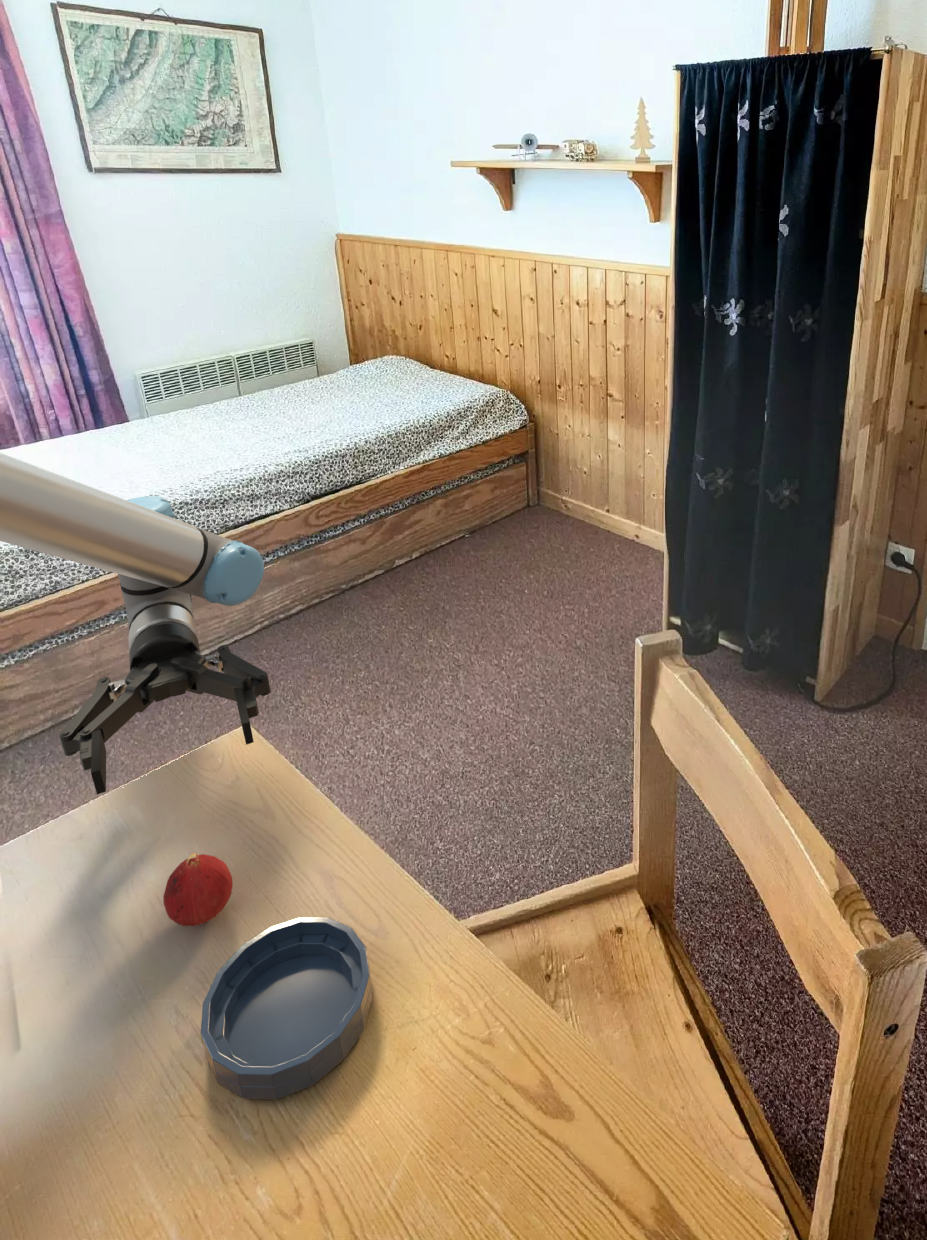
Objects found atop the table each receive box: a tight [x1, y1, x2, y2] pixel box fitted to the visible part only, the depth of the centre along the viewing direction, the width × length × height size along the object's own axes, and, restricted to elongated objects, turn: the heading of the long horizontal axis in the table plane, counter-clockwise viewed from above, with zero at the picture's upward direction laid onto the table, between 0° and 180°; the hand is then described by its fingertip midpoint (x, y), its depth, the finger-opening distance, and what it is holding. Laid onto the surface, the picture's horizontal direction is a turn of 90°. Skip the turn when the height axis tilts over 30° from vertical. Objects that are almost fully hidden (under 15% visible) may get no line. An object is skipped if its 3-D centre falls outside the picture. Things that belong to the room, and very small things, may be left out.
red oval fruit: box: [163, 852, 234, 927], centre depth 75 cm, size 6×6×8 cm
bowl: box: [200, 916, 374, 1100], centre depth 67 cm, size 13×13×4 cm
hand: (176, 757), depth 80 cm, fingers open, 13 cm apart
